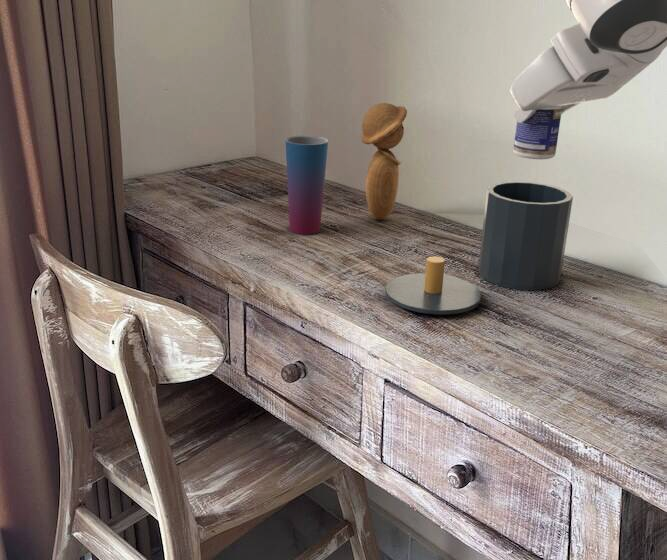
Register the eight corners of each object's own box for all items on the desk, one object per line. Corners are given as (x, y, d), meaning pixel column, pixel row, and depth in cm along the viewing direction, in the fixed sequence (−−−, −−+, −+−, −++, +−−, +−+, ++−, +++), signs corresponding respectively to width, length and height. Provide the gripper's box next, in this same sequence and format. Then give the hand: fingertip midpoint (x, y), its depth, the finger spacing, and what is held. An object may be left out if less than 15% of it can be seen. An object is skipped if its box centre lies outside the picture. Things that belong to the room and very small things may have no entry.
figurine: (406, 226, 138) (414, 108, 130) (365, 228, 136) (371, 108, 129) (390, 210, 146) (397, 98, 139) (351, 212, 144) (357, 98, 137)
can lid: (485, 321, 103) (489, 280, 101) (384, 315, 104) (386, 274, 102) (475, 283, 115) (480, 245, 113) (385, 278, 116) (387, 240, 113)
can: (566, 292, 113) (580, 206, 108) (482, 287, 114) (492, 201, 109) (551, 263, 124) (563, 183, 119) (475, 258, 124) (483, 179, 120)
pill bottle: (557, 161, 109) (567, 86, 105) (513, 158, 109) (522, 83, 106) (553, 152, 114) (563, 79, 110) (511, 149, 115) (520, 77, 111)
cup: (321, 223, 138) (324, 135, 132) (328, 236, 132) (331, 144, 126) (281, 223, 137) (283, 135, 131) (286, 236, 131) (288, 144, 125)
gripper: (642, 26, 107) (567, 90, 117) (550, 31, 94) (476, 103, 105) (667, 65, 105) (590, 127, 116) (577, 75, 93) (499, 144, 103)
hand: (535, 115), depth 110 cm, fingers closed on pill bottle, 6 cm apart
